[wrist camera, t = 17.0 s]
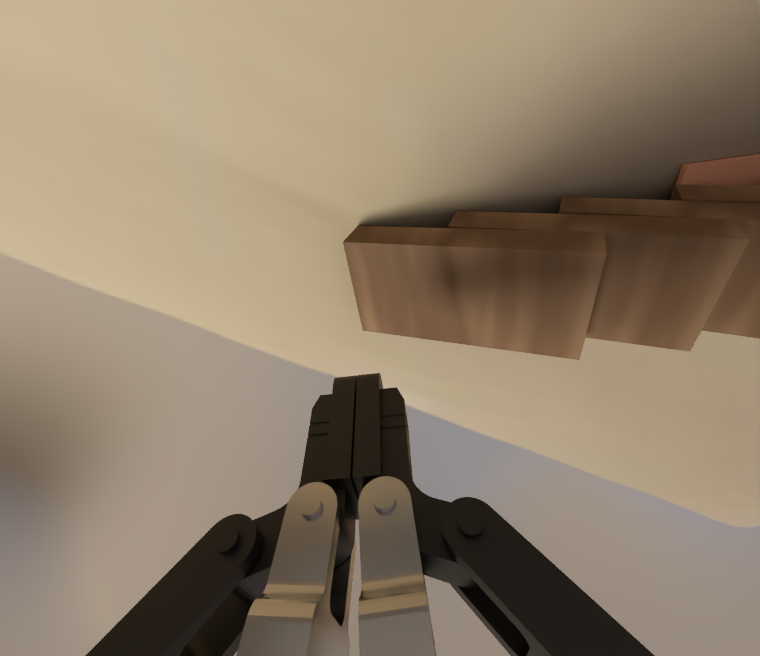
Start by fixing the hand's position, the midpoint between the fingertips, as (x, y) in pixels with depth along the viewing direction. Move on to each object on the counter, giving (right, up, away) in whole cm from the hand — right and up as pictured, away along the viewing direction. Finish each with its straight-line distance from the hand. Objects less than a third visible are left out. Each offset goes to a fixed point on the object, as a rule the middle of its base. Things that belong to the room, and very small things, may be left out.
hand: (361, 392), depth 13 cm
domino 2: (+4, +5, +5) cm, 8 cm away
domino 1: (0, +5, +6) cm, 7 cm away
